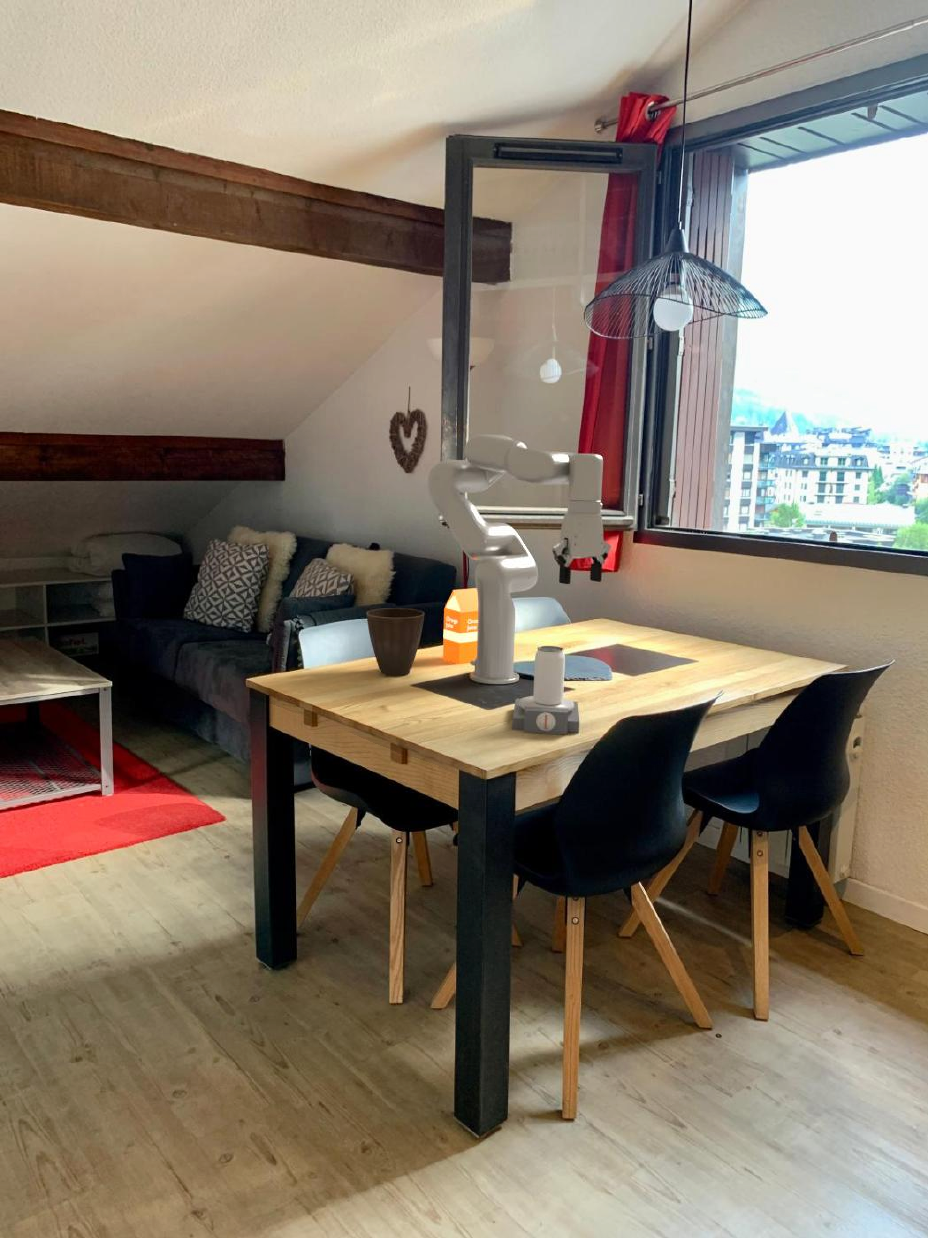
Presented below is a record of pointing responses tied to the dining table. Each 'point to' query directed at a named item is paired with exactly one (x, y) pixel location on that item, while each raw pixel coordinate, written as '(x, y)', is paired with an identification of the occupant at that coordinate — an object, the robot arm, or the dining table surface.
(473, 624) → the orange juice
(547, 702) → the can
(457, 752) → the dining table surface
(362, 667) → the dining table surface
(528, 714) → the scale
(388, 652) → the plant pot
